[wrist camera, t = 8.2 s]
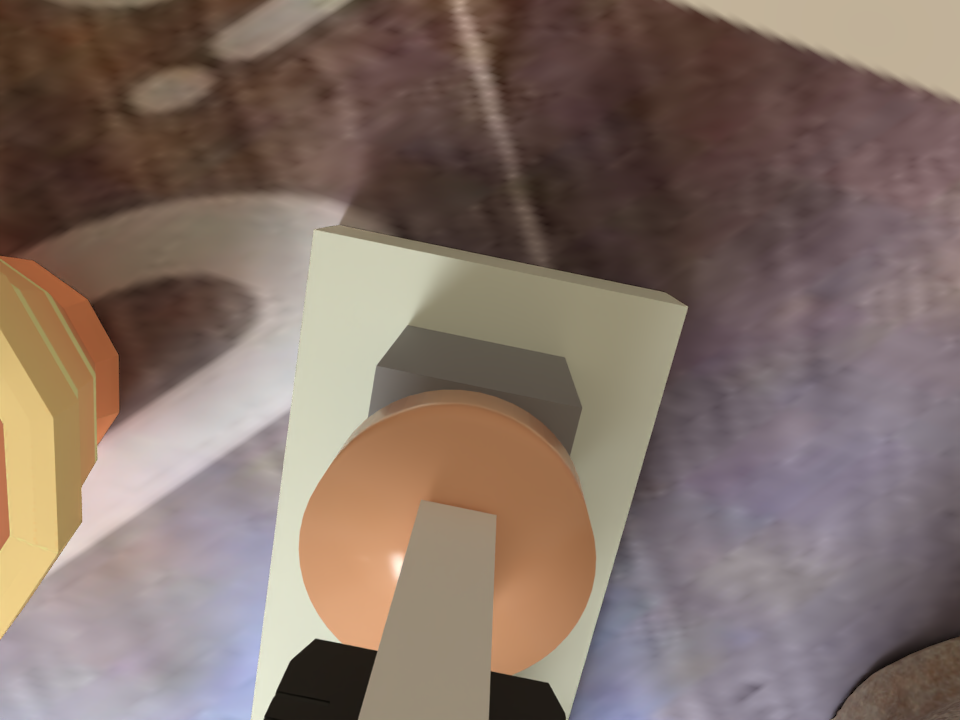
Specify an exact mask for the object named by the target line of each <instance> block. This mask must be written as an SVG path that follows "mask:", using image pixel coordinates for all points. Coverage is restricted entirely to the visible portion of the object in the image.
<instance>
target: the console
mask: <svg viewBox="0 0 960 720" xmlns="http://www.w3.org/2000/svg"><path fill="white" fill-rule="evenodd" d="M687 309H688V306H686V305H685V304H683V303H681V302H680V301H678V300H677V299H675V298H673V297H672V296H670V295H669V294H667V293H665V292H661V291H656V290H651V289H646V288H642V287H637V286H632V285H627V284H622V283H617V282H612V281H608V280H603V279H598V278H593V277H588V276H583V275H579V274H574V273H569V272H564V271H559V270H554V269H550V268H545V267H540V266H535V265H530V264H525V263H520V262H516V261H511V260H506V259H501V258H496V257H491V256H487V255H482V254H477V253H472V252H467V251H462V250H458V249H453V248H448V247H443V246H438V245H433V244H428V243H424V242H419V241H414V240H409V239H404V238H399V237H395V236H390V235H385V234H380V233H375V232H370V231H366V230H361V229H356V228H351V227H346V226H341V225H336V226H330V227H325V228H319V229H314V232H313V240H312V247H311V255H310V263H309V271H308V278H307V286H306V294H305V302H304V310H303V317H302V325H301V333H300V341H299V349H298V356H297V364H296V372H295V380H294V387H293V395H292V403H291V411H290V419H289V426H288V434H287V442H286V450H285V458H284V465H283V473H282V481H281V489H280V497H279V504H278V512H277V520H276V528H275V535H274V543H273V551H272V559H271V567H270V574H269V582H268V590H267V598H266V606H265V613H264V621H263V629H262V637H261V645H260V652H259V660H258V668H257V676H256V683H255V691H254V699H253V707H252V715H251V720H264V716H265V714H266V712H267V709H268V707H269V705H270V703H271V701H272V699H273V697H275V694H276V690H277V688H278V686H279V684H280V682H281V679H282V677H283V675H284V673H285V671H286V669H287V667H288V665H289V662H290V660H292V659H293V658H294V657H295V656H296V655H297V654H298V653H300V652H301V651H302V650H303V649H304V648H305V647H306V646H308V645H309V644H310V643H311V642H312V641H313V640H314V639H321V640H326V641H331V642H336V643H341V642H340V641H339V640H338V639H337V638H336V637H335V635H334V634H333V633H332V632H331V631H330V630H329V629H328V628H327V626H326V625H325V623H324V622H323V621H322V619H321V618H320V616H319V615H318V613H317V612H316V610H315V608H314V606H313V604H312V602H311V600H310V598H309V596H308V593H307V590H306V588H305V585H304V582H303V578H302V573H301V569H300V561H299V535H300V528H301V524H302V519H303V515H304V512H305V509H306V507H307V504H308V502H309V499H310V497H311V495H312V493H313V492H314V490H315V488H316V486H317V485H318V483H319V481H320V480H321V478H322V477H323V475H324V474H325V472H326V471H327V469H328V468H329V466H330V465H331V463H332V462H333V460H334V458H335V457H336V455H337V454H338V452H339V451H340V449H341V448H342V446H343V445H344V443H345V442H346V441H347V439H348V438H349V437H350V436H351V434H352V433H353V432H354V431H355V430H356V429H357V428H358V427H359V426H360V425H361V424H362V423H363V422H364V421H365V420H366V419H367V418H369V417H370V416H371V415H373V414H374V413H375V412H377V411H378V410H380V409H382V408H383V407H385V406H387V405H389V404H391V403H393V402H395V401H397V400H400V399H403V398H405V397H408V396H411V395H415V394H419V393H423V392H428V391H437V390H466V391H473V392H480V393H484V394H487V395H491V396H495V397H498V398H500V399H503V400H505V401H508V402H510V403H513V404H515V405H516V406H518V407H520V408H522V409H523V410H525V411H527V412H529V413H530V414H531V415H533V416H534V417H535V418H537V419H538V420H539V421H541V422H542V423H543V424H544V425H545V426H546V427H547V428H548V429H549V430H550V431H551V432H552V433H553V434H554V435H555V436H556V437H557V439H558V440H559V441H560V442H561V444H562V445H563V446H564V448H565V449H566V451H567V453H568V454H569V456H570V458H571V460H572V461H573V463H574V466H575V468H576V471H577V473H578V476H579V479H580V483H581V487H582V491H583V495H584V499H585V503H586V507H587V511H588V515H589V519H590V523H591V527H592V531H593V535H594V539H595V549H596V570H595V578H594V583H593V588H592V592H591V595H590V597H589V600H588V603H587V606H586V608H585V610H584V612H583V614H582V615H581V617H580V619H579V621H578V623H577V624H576V625H575V627H574V628H573V629H572V631H571V632H570V634H569V635H568V636H567V637H566V638H565V639H564V640H563V641H562V642H561V643H560V644H559V646H558V647H557V648H556V649H554V650H553V651H552V652H551V653H549V654H548V655H547V656H546V657H544V658H543V659H542V660H540V661H538V662H537V663H535V664H533V665H532V666H530V667H529V668H527V669H525V670H522V671H520V672H518V673H516V674H514V675H512V676H517V677H522V678H527V679H532V680H537V681H542V682H547V683H549V684H550V686H551V688H552V690H553V692H554V694H555V695H556V697H557V699H558V701H559V703H560V705H561V706H562V708H563V710H564V712H565V715H566V720H568V719H569V715H570V712H571V708H572V705H573V701H574V698H575V695H576V691H577V688H578V684H579V681H580V677H581V674H582V671H583V667H584V664H585V660H586V657H587V653H588V650H589V646H590V643H591V640H592V636H593V633H594V629H595V626H596V622H597V619H598V615H599V612H600V609H601V605H602V602H603V598H604V595H605V591H606V588H607V585H608V581H609V578H610V574H611V571H612V567H613V564H614V560H615V557H616V554H617V550H618V547H619V543H620V540H621V536H622V533H623V529H624V526H625V523H626V519H627V516H628V512H629V509H630V505H631V502H632V499H633V495H634V492H635V488H636V485H637V481H638V478H639V474H640V471H641V468H642V464H643V461H644V457H645V454H646V450H647V447H648V443H649V440H650V437H651V433H652V430H653V426H654V423H655V419H656V416H657V413H658V409H659V406H660V402H661V399H662V395H663V392H664V388H665V385H666V382H667V378H668V375H669V371H670V368H671V364H672V361H673V357H674V354H675V351H676V347H677V344H678V340H679V337H680V333H681V330H682V327H683V323H684V320H685V316H686V313H687ZM341 644H342V643H341Z"/></svg>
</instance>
